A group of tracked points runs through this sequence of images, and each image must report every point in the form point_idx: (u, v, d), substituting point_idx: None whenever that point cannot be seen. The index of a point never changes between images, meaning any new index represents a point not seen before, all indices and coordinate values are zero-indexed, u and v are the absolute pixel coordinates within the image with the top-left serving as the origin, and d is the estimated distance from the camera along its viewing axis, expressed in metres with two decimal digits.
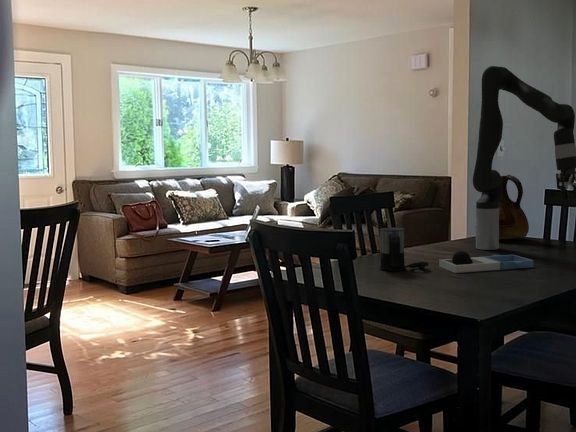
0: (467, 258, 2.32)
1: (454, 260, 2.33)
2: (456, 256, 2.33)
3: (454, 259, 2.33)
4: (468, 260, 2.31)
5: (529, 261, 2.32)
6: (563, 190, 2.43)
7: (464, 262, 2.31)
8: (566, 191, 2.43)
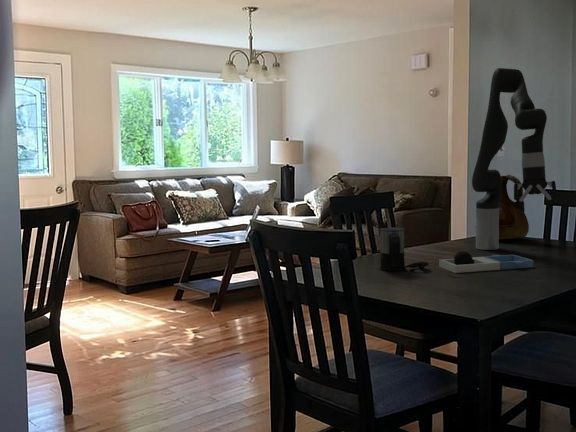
0: (469, 258, 2.31)
1: (456, 260, 2.33)
2: (458, 256, 2.32)
3: (456, 259, 2.33)
4: (470, 260, 2.31)
5: (529, 261, 2.32)
6: (519, 201, 2.34)
7: (466, 262, 2.31)
8: (521, 203, 2.34)
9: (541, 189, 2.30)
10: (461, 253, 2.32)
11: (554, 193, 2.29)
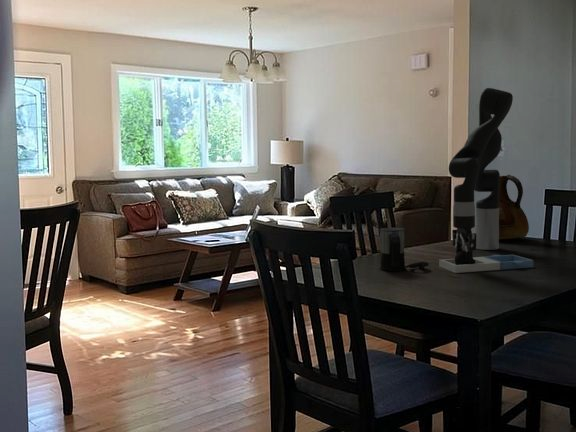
0: None
1: (457, 260, 2.33)
2: (459, 256, 2.32)
3: (457, 259, 2.33)
4: None
5: (529, 261, 2.32)
6: None
7: (467, 262, 2.31)
8: None
9: (462, 239, 2.31)
10: (462, 253, 2.32)
11: (469, 246, 2.27)
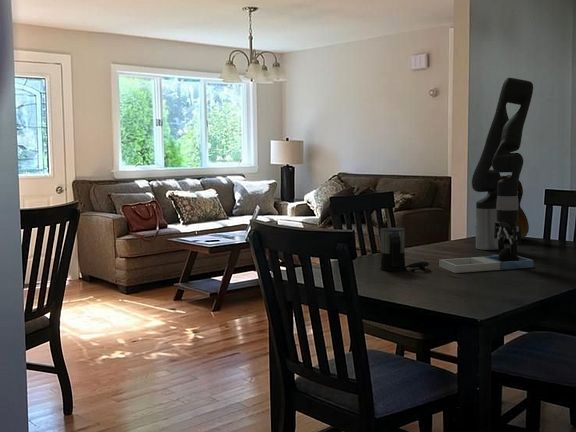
0: (514, 255, 2.35)
1: (501, 257, 2.36)
2: (503, 253, 2.36)
3: (501, 256, 2.36)
4: (515, 257, 2.35)
5: (529, 261, 2.32)
6: None
7: (511, 259, 2.35)
8: (498, 242, 2.41)
9: (506, 232, 2.34)
10: (506, 250, 2.36)
11: (513, 238, 2.30)
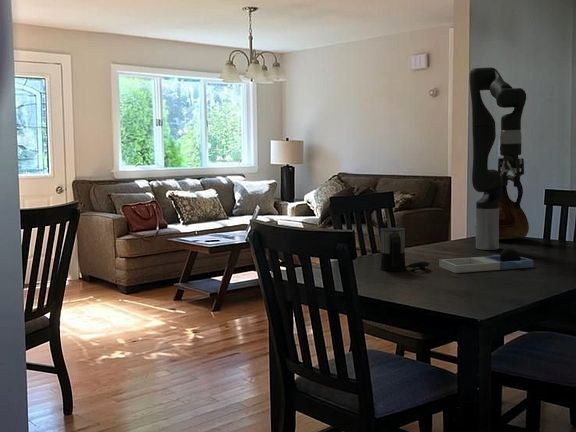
0: (516, 255, 2.35)
1: (503, 257, 2.36)
2: (505, 253, 2.35)
3: (503, 256, 2.36)
4: (517, 257, 2.34)
5: (529, 261, 2.32)
6: None
7: (513, 259, 2.34)
8: (501, 177, 2.49)
9: (509, 165, 2.42)
10: (508, 250, 2.35)
11: (517, 170, 2.38)
